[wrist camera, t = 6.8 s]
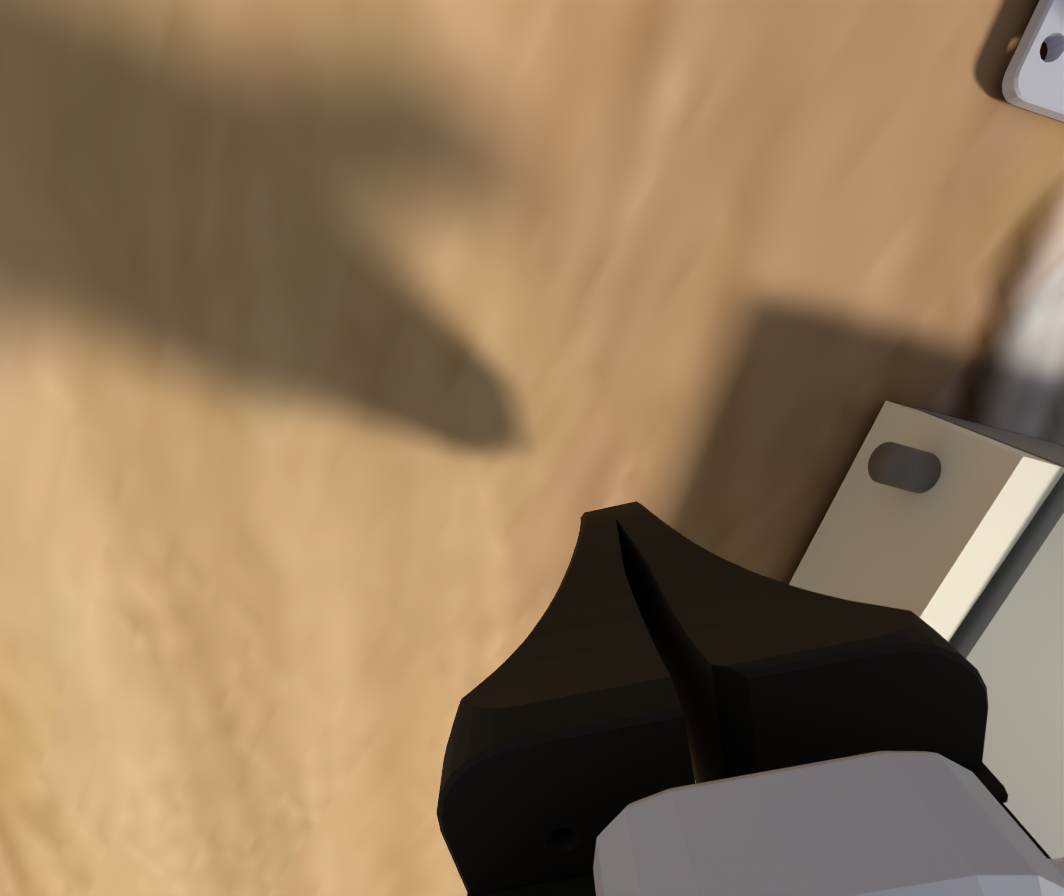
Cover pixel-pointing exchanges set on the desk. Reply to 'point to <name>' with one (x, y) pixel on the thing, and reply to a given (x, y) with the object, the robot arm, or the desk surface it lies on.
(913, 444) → the door
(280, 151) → the desk surface
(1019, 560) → the gray box
